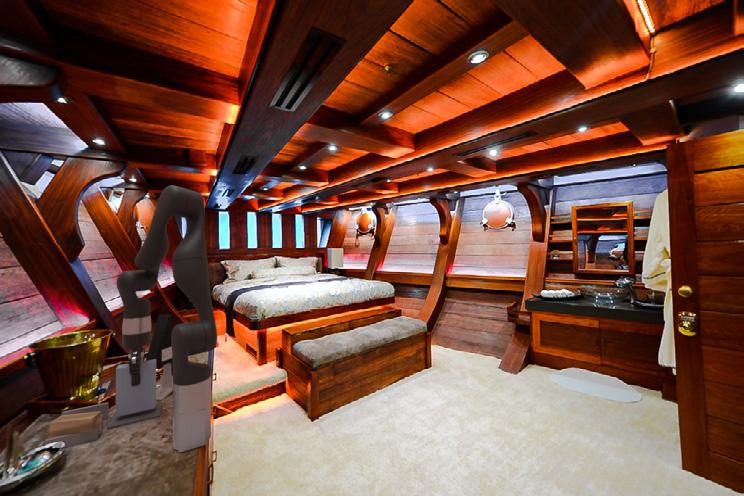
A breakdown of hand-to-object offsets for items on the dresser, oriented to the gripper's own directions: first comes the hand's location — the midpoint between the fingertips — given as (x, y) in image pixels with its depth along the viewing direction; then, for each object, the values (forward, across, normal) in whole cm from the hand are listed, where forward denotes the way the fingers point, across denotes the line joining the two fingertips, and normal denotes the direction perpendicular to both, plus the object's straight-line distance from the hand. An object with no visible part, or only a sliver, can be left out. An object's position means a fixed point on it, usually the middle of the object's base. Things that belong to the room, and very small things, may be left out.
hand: (136, 382), depth 97 cm
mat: (+11, 0, 0) cm, 11 cm away
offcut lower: (+11, -6, +13) cm, 18 cm away
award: (+11, +14, -7) cm, 20 cm away
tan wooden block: (+11, -3, +13) cm, 17 cm away
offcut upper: (+8, -7, +13) cm, 16 cm away
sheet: (+9, 0, 0) cm, 9 cm away
